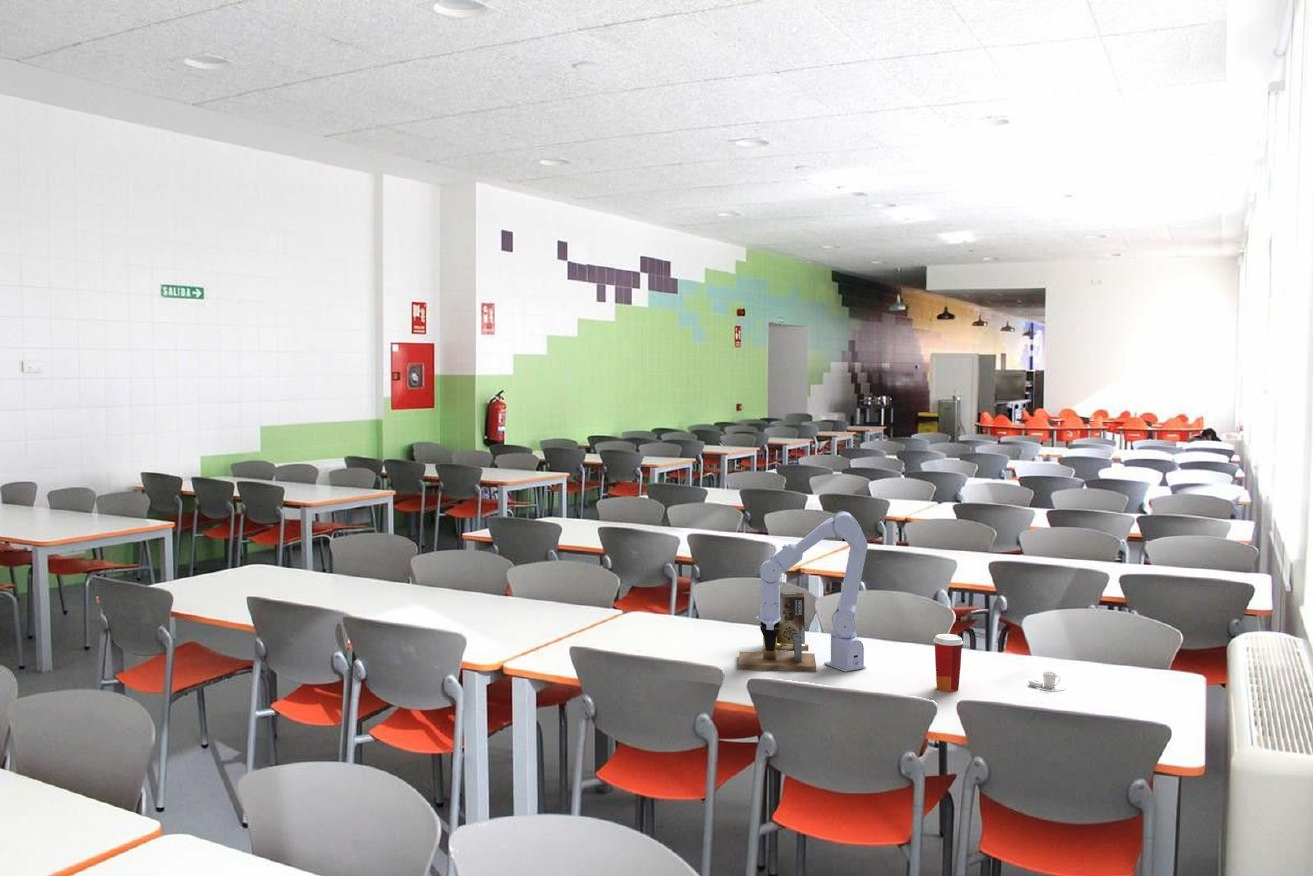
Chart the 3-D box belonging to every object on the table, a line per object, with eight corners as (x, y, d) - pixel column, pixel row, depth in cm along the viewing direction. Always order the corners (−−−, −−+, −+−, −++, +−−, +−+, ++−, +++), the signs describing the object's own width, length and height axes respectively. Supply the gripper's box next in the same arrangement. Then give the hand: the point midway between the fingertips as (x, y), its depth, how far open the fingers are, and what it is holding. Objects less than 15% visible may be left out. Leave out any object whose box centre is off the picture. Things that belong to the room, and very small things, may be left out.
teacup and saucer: (1025, 687, 278) (1025, 672, 277) (1038, 681, 283) (1038, 667, 283) (1057, 694, 271) (1057, 679, 271) (1070, 688, 277) (1070, 673, 277)
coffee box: (804, 643, 323) (804, 592, 322) (805, 648, 317) (805, 596, 316) (774, 642, 324) (774, 591, 323) (775, 648, 318) (775, 596, 317)
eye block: (814, 658, 306) (814, 630, 305) (816, 671, 292) (816, 642, 291) (739, 656, 308) (739, 628, 307) (738, 669, 294) (738, 640, 294)
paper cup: (957, 684, 279) (957, 633, 279) (966, 693, 272) (967, 640, 271) (928, 684, 279) (929, 633, 278) (937, 693, 271) (937, 640, 271)
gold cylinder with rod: (807, 656, 301) (808, 629, 300) (808, 660, 297) (808, 632, 296) (763, 655, 302) (763, 627, 302) (762, 659, 298) (763, 631, 298)
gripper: (756, 596, 307) (756, 642, 307) (755, 607, 292) (755, 654, 293) (780, 597, 306) (780, 642, 307) (781, 608, 291) (780, 655, 292)
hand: (769, 648), depth 300 cm, fingers closed on gold cylinder with rod, 4 cm apart
